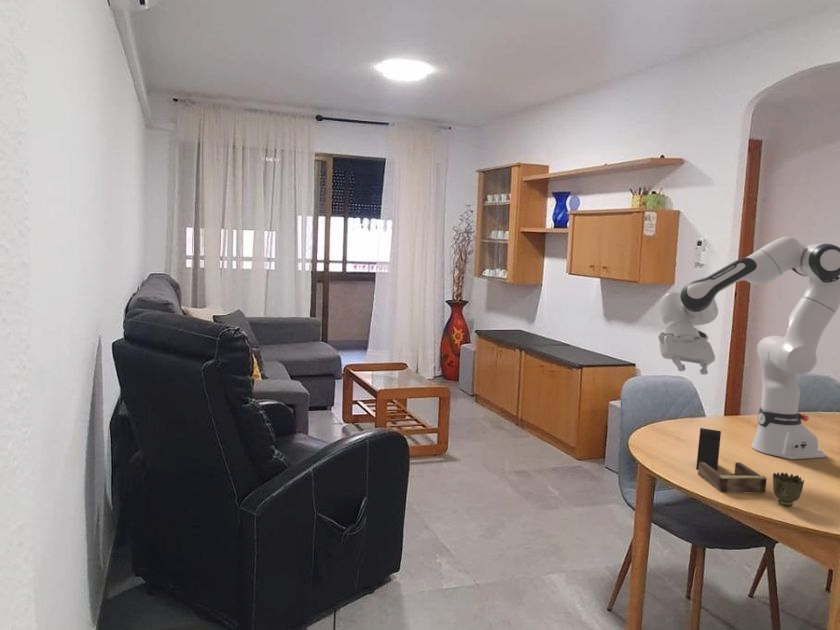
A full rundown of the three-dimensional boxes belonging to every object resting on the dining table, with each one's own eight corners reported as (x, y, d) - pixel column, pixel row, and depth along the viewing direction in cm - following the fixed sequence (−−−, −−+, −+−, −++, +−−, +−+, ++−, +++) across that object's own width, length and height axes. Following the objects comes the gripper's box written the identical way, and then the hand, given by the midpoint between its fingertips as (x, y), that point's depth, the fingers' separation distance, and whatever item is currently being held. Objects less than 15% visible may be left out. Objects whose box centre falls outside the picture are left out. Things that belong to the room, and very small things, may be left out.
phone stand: (717, 473, 202) (720, 435, 200) (695, 469, 204) (699, 432, 203) (717, 464, 210) (721, 427, 208) (697, 460, 212) (700, 424, 211)
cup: (805, 512, 175) (808, 483, 174) (775, 509, 176) (778, 480, 175) (795, 501, 182) (798, 473, 181) (766, 498, 183) (769, 470, 182)
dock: (739, 475, 201) (740, 461, 200) (765, 492, 187) (766, 477, 187) (697, 474, 200) (699, 460, 199) (721, 492, 186) (722, 477, 186)
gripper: (663, 327, 218) (674, 363, 210) (711, 335, 225) (724, 371, 217) (651, 336, 222) (662, 372, 215) (698, 344, 230) (710, 379, 222)
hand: (693, 372), depth 216 cm, fingers open, 8 cm apart
